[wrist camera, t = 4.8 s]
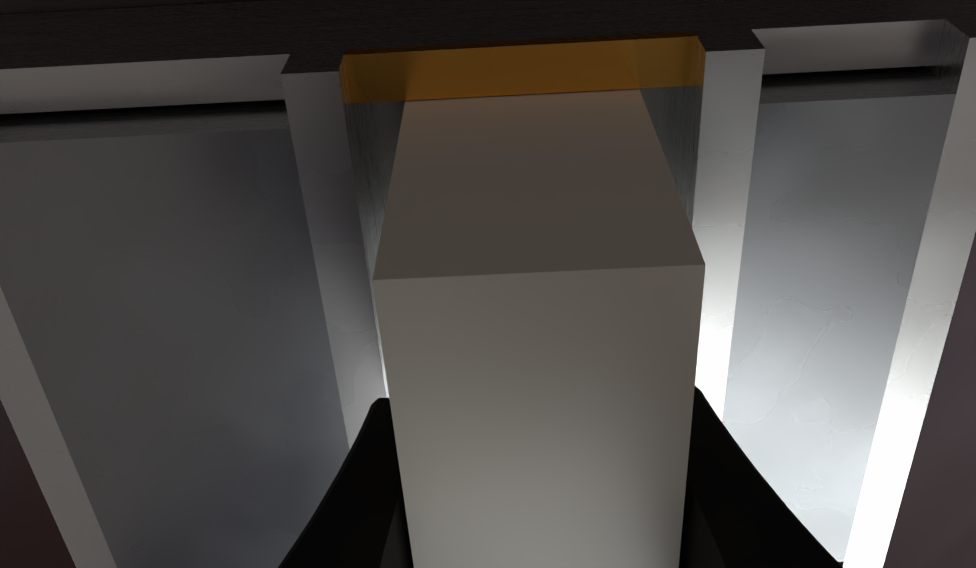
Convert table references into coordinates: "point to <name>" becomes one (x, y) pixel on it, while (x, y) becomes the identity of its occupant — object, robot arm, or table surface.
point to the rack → (358, 223)
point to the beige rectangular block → (539, 332)
